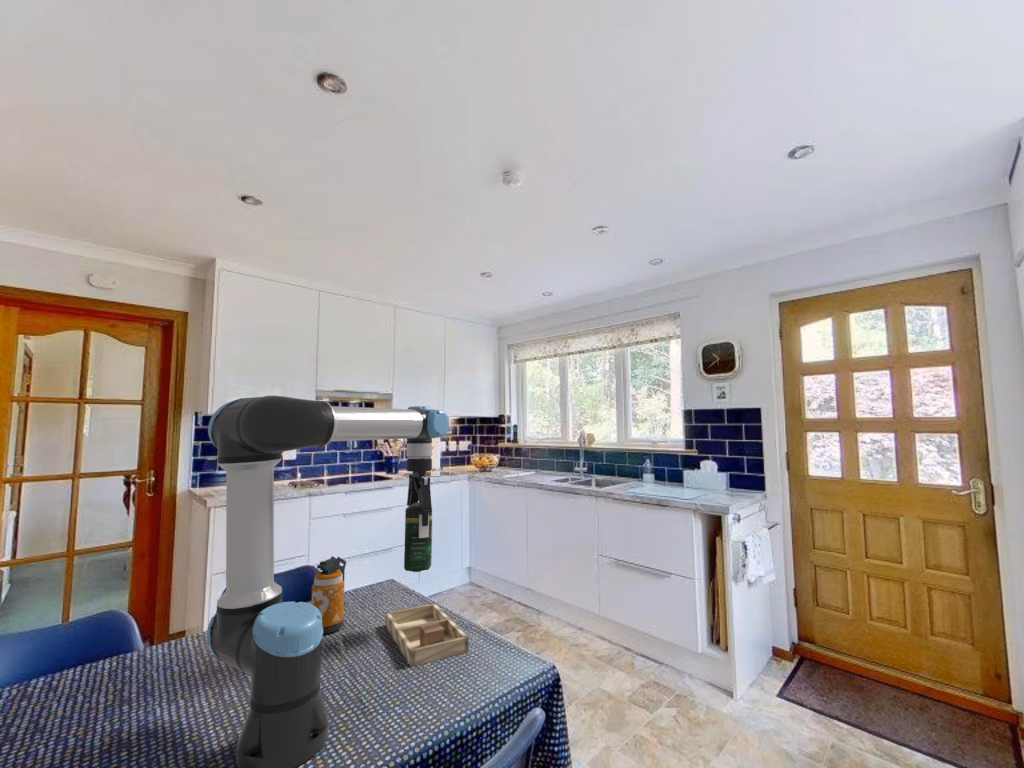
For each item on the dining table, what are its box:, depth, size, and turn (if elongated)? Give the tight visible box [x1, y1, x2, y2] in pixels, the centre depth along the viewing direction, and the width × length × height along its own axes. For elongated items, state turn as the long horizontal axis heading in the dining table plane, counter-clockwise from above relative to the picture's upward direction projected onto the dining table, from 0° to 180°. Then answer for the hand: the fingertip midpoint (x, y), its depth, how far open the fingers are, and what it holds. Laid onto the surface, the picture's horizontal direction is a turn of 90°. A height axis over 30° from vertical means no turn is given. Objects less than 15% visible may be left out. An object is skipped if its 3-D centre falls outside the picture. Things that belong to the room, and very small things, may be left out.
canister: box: [310, 556, 347, 635], centre depth 132 cm, size 9×11×20 cm
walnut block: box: [420, 622, 444, 647], centre depth 116 cm, size 5×5×5 cm
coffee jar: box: [403, 502, 433, 573], centre depth 130 cm, size 10×8×19 cm
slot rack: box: [385, 603, 469, 668], centre depth 122 cm, size 27×15×4 cm, turn 28°
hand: (418, 533), depth 130 cm, fingers closed on coffee jar, 10 cm apart
